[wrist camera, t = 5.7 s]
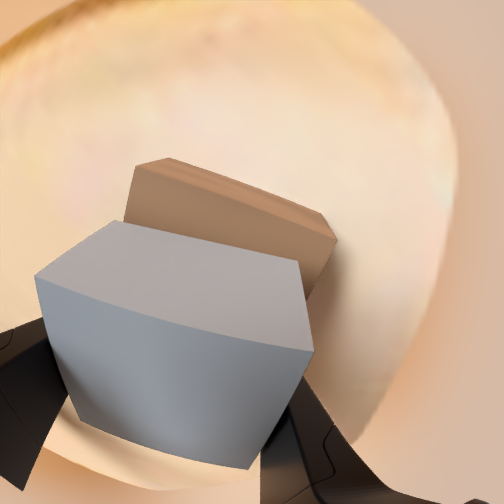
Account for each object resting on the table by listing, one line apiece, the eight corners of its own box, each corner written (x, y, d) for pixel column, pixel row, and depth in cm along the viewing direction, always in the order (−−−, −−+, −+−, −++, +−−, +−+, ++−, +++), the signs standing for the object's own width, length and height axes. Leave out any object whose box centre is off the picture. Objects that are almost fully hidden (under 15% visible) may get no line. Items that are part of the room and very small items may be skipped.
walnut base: (262, 331, 17) (259, 379, 13) (140, 286, 16) (110, 324, 13) (320, 212, 14) (337, 240, 10) (170, 157, 13) (135, 166, 10)
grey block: (255, 387, 11) (248, 469, 7) (120, 351, 11) (80, 420, 7) (297, 261, 9) (314, 351, 5) (114, 220, 8) (34, 275, 5)
